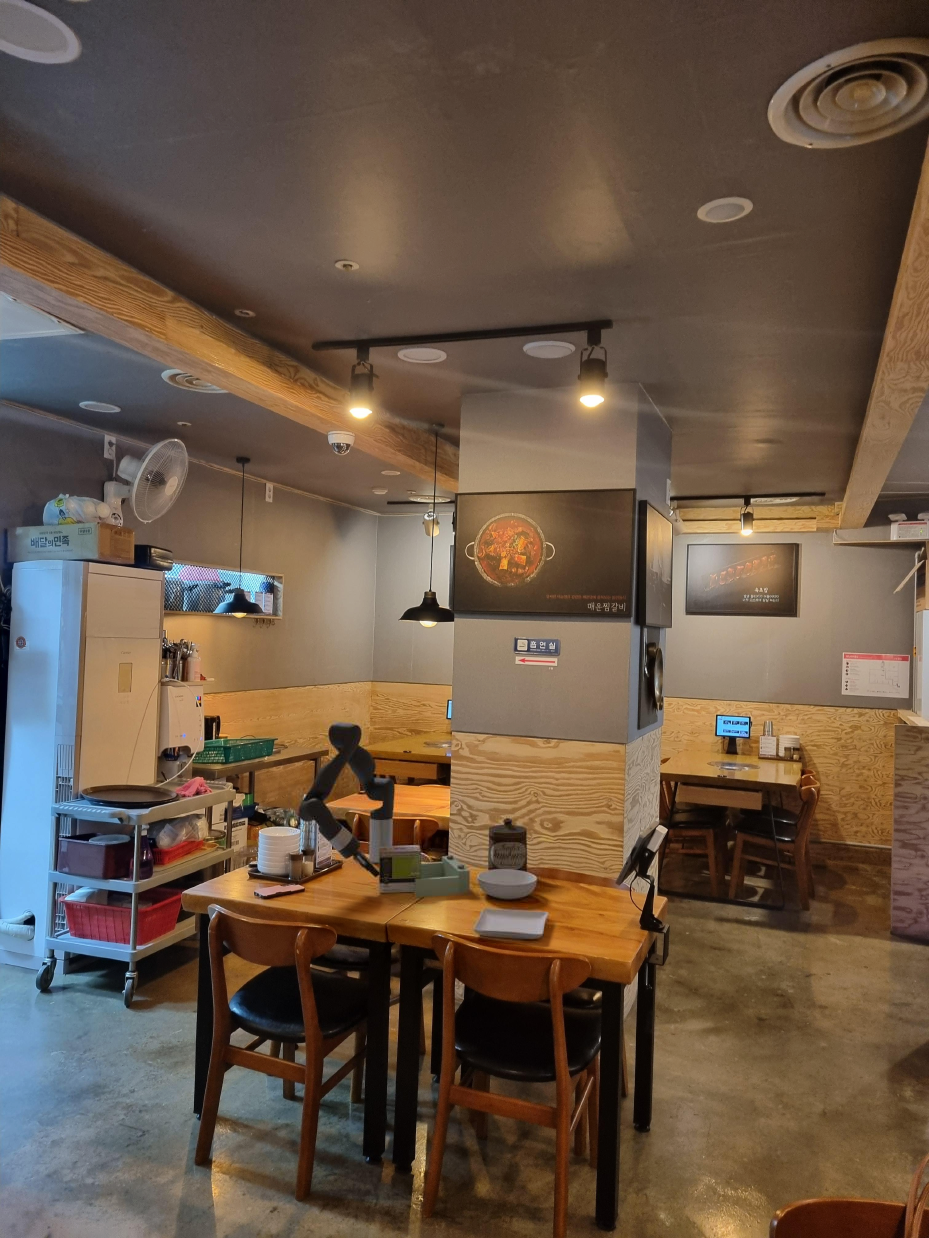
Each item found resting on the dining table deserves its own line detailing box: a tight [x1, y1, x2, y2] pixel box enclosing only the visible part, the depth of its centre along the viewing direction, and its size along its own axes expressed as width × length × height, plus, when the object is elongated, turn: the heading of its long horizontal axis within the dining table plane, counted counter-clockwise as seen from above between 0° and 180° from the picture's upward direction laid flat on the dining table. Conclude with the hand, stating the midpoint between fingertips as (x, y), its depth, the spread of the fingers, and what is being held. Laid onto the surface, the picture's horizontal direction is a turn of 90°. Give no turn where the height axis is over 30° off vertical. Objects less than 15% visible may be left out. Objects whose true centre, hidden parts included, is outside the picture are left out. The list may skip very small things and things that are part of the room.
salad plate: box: [472, 908, 549, 940], centre depth 263 cm, size 21×21×3 cm
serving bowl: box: [477, 869, 538, 901], centre depth 299 cm, size 21×21×7 cm
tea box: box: [378, 844, 422, 894], centre depth 305 cm, size 15×10×15 cm, turn 96°
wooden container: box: [487, 817, 528, 872], centre depth 325 cm, size 15×15×22 cm
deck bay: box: [414, 854, 471, 898], centre depth 308 cm, size 22×20×9 cm
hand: (377, 874), depth 302 cm, fingers closed
